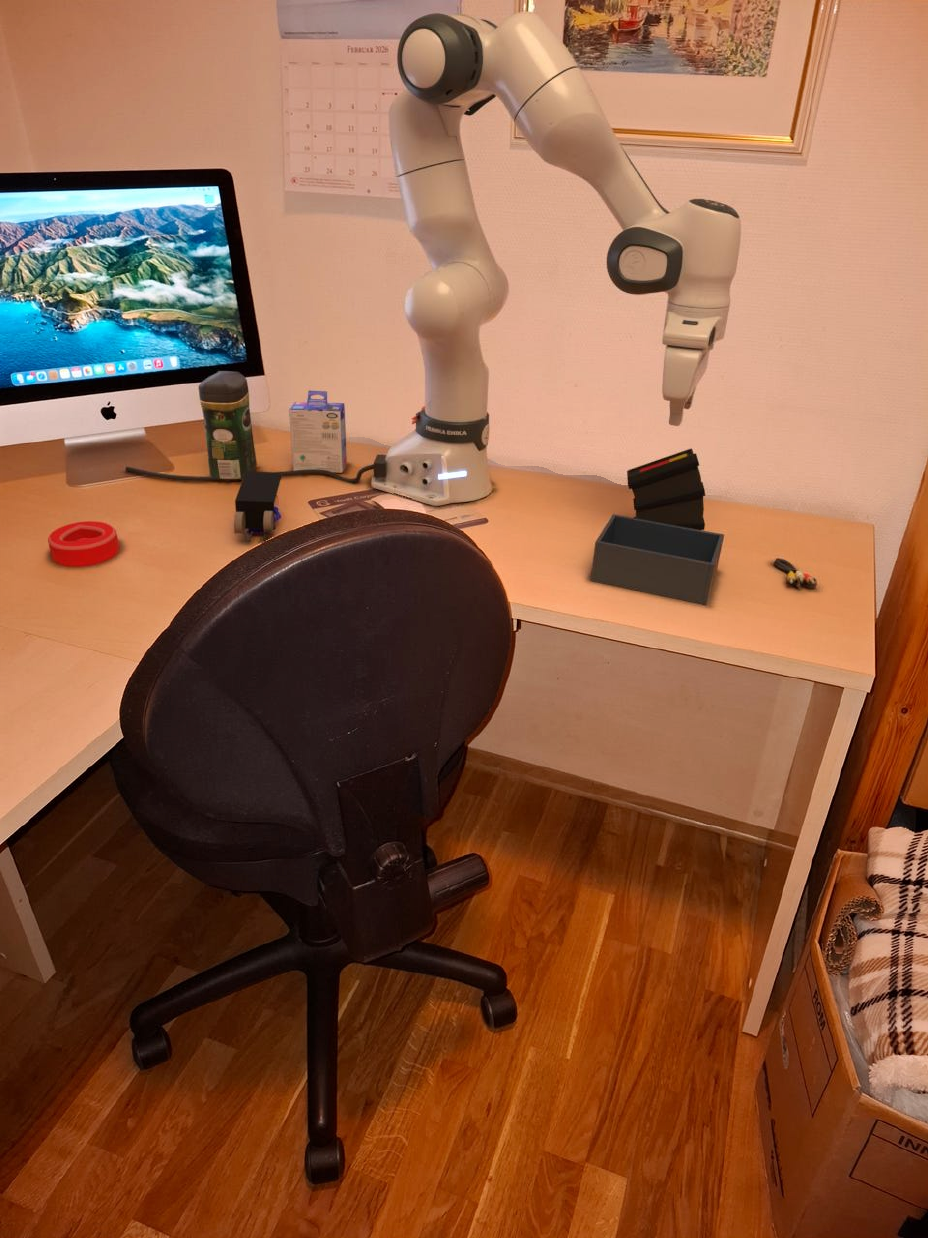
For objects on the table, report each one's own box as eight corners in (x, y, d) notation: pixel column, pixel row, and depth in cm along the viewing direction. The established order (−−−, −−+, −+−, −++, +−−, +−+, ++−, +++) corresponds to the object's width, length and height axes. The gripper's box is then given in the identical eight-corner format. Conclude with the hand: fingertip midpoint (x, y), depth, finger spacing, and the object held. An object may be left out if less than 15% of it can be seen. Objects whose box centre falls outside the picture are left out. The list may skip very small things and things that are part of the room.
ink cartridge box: (348, 463, 166) (345, 389, 158) (344, 473, 161) (341, 398, 154) (297, 461, 166) (292, 388, 158) (292, 472, 161) (286, 396, 154)
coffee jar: (221, 463, 164) (209, 366, 154) (261, 465, 163) (252, 368, 154) (204, 481, 155) (190, 380, 146) (246, 484, 155) (235, 383, 145)
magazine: (721, 536, 138) (696, 454, 132) (643, 560, 143) (614, 482, 136) (719, 527, 142) (693, 446, 135) (642, 551, 146) (614, 474, 139)
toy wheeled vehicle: (278, 554, 135) (286, 506, 146) (273, 513, 130) (282, 467, 142) (235, 554, 134) (246, 506, 146) (229, 513, 129) (241, 467, 141)
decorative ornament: (98, 533, 136) (94, 515, 134) (131, 551, 131) (128, 533, 129) (39, 552, 129) (35, 533, 128) (72, 572, 124) (67, 553, 123)
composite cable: (770, 562, 135) (774, 548, 133) (800, 564, 135) (804, 550, 133) (787, 592, 126) (791, 577, 125) (820, 594, 126) (824, 579, 125)
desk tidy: (590, 580, 127) (595, 541, 124) (607, 550, 136) (612, 513, 133) (706, 605, 122) (714, 565, 119) (716, 572, 131) (724, 534, 128)
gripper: (685, 308, 134) (671, 395, 141) (661, 334, 117) (647, 431, 124) (725, 312, 132) (710, 400, 139) (707, 339, 115) (690, 437, 122)
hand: (680, 415), depth 131 cm, fingers open, 8 cm apart
